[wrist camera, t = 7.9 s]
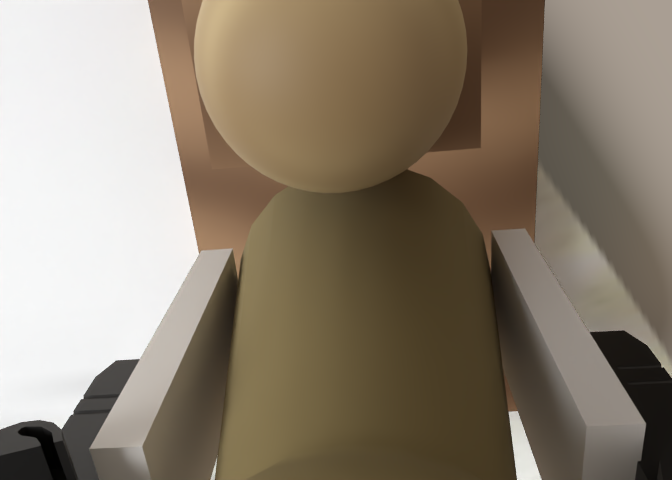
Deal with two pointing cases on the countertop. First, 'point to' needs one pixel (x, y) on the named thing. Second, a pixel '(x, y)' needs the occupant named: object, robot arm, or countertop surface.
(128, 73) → the countertop surface
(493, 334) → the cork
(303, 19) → the wooden peg board
